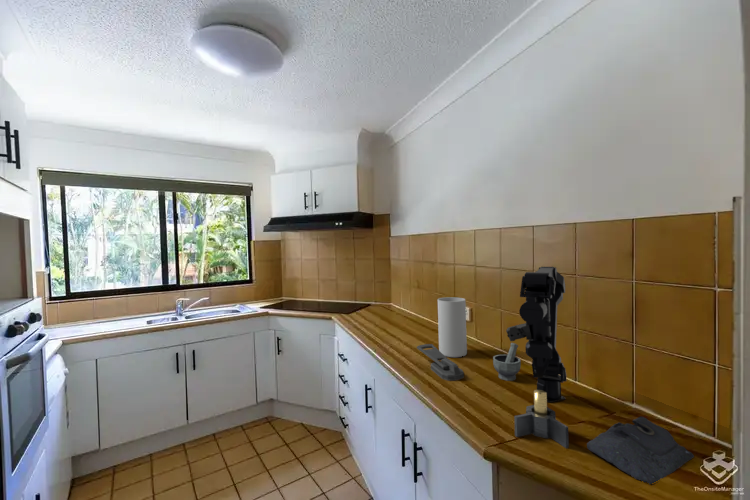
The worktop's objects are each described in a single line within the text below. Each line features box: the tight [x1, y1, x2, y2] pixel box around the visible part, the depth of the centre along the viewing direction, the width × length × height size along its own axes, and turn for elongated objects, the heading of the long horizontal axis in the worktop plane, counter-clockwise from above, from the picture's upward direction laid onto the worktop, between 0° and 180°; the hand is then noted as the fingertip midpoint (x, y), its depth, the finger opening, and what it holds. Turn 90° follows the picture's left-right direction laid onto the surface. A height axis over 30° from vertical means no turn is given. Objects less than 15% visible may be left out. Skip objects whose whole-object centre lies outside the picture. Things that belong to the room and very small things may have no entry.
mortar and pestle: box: [492, 342, 522, 382], centre depth 120 cm, size 11×9×12 cm
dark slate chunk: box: [586, 416, 695, 485], centre depth 75 cm, size 15×22×5 cm
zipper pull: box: [416, 343, 465, 382], centre depth 130 cm, size 9×7×25 cm
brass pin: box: [533, 389, 548, 416], centre depth 85 cm, size 3×3×10 cm
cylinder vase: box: [437, 296, 468, 358], centre depth 148 cm, size 12×12×25 cm
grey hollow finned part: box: [513, 404, 570, 449], centre depth 82 cm, size 11×11×5 cm
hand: (540, 371), depth 91 cm, fingers open, 9 cm apart
